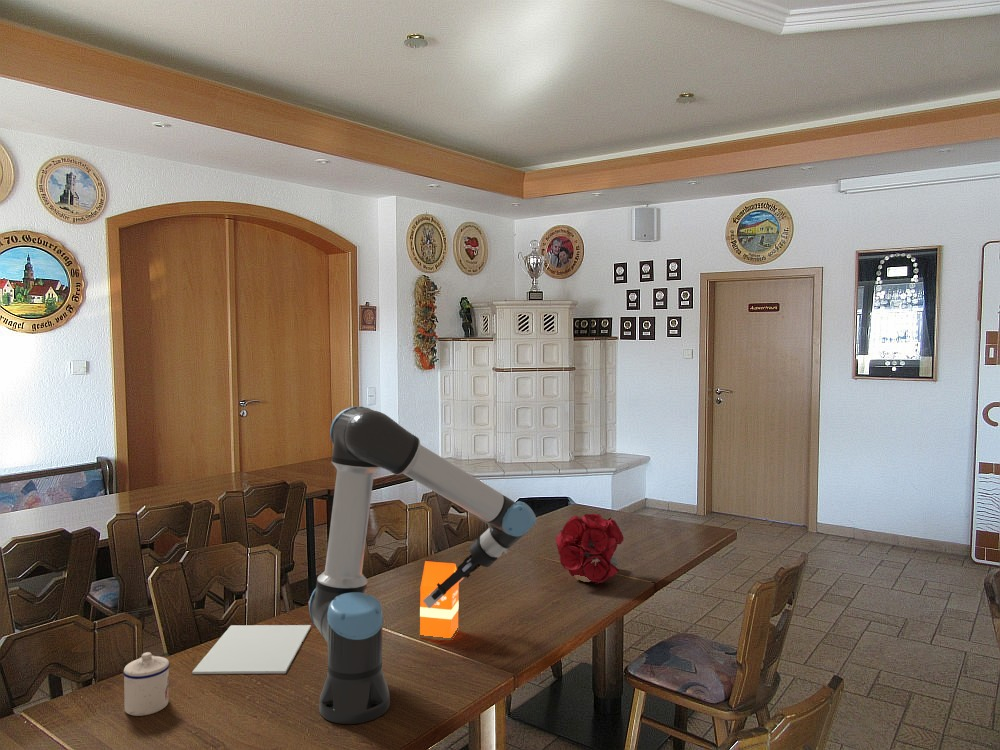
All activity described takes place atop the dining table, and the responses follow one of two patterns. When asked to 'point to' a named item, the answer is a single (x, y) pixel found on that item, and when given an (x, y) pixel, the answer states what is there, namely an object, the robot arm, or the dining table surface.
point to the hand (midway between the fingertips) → (436, 595)
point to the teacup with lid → (146, 685)
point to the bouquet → (589, 546)
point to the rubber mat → (254, 650)
